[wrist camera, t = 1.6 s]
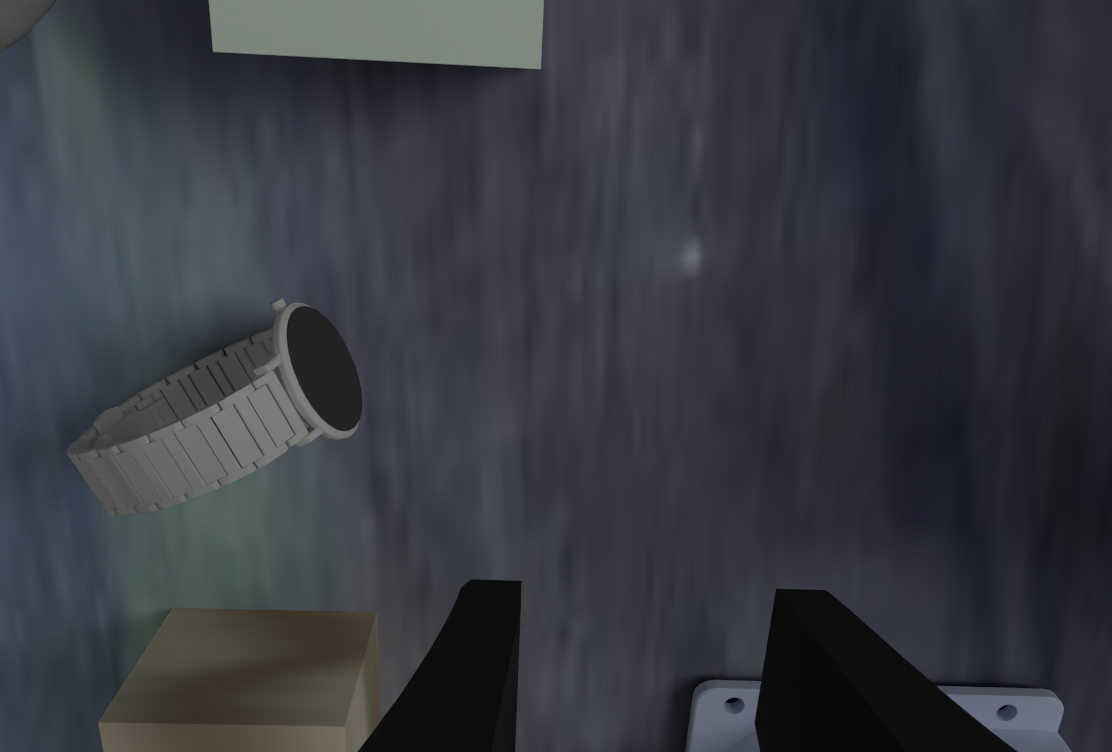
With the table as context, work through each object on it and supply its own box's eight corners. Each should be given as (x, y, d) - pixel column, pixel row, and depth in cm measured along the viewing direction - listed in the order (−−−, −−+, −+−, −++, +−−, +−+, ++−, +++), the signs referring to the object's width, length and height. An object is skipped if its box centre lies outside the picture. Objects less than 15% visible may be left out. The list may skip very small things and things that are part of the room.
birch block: (378, 608, 22) (344, 726, 18) (383, 764, 24) (354, 901, 20) (174, 604, 22) (98, 722, 18) (195, 761, 23) (130, 899, 20)
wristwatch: (387, 377, 19) (338, 483, 15) (191, 457, 20) (84, 582, 15) (326, 260, 18) (253, 333, 14) (122, 347, 19) (-15, 445, 14)
